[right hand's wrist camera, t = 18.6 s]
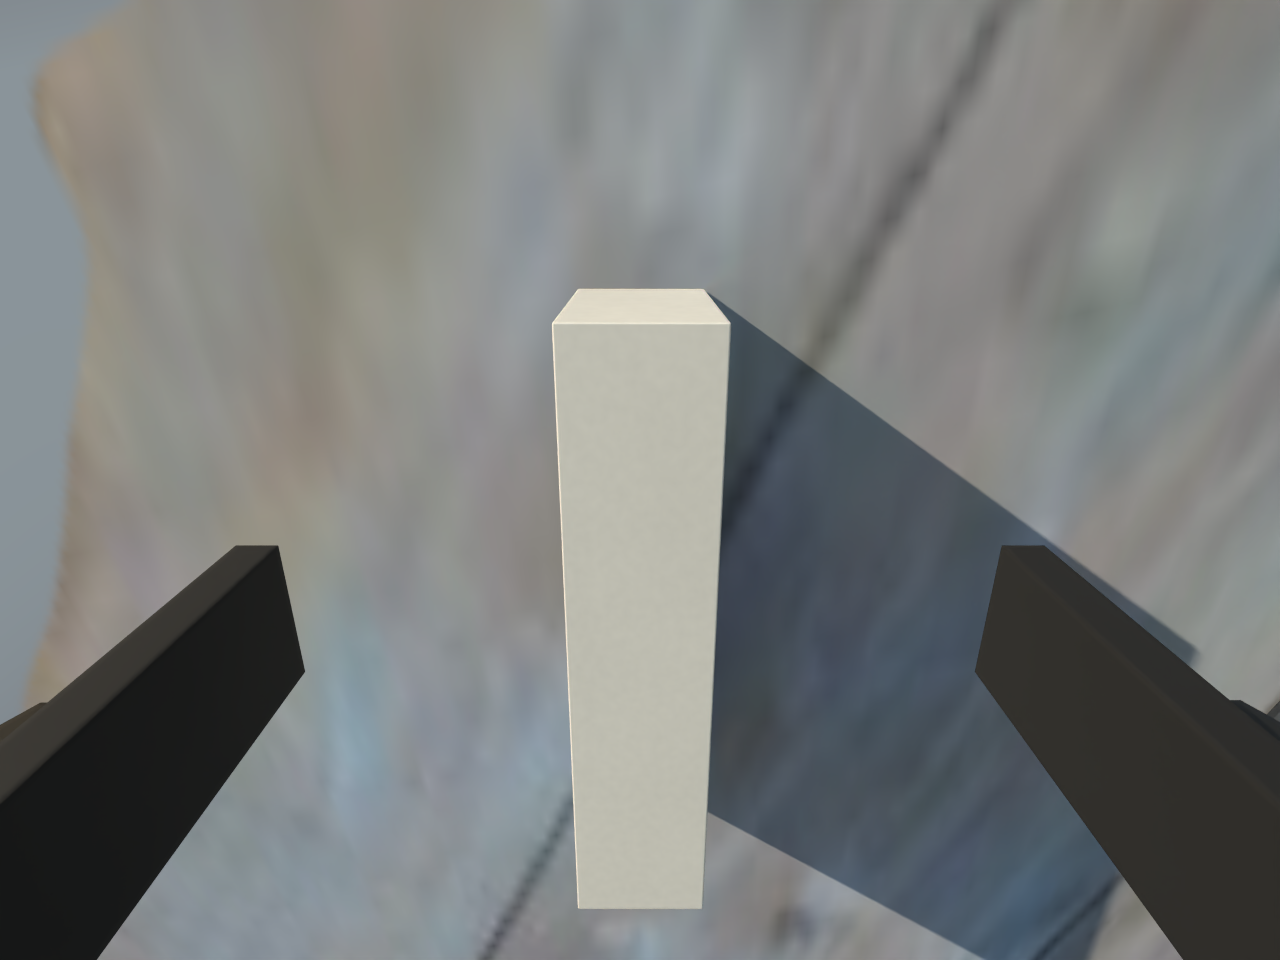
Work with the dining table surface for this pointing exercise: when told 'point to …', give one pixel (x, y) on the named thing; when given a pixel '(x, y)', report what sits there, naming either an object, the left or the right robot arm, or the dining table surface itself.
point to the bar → (641, 582)
